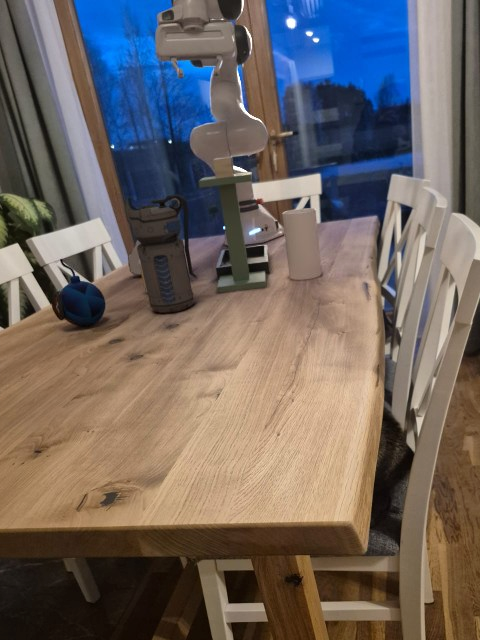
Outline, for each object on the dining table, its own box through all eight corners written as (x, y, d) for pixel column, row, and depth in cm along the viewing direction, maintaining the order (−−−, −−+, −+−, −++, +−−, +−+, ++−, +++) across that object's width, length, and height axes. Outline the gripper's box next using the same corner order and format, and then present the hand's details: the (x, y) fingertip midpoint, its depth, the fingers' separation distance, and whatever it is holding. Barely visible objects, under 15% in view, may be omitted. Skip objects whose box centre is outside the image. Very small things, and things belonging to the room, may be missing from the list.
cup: (284, 280, 147) (276, 214, 140) (297, 272, 153) (289, 209, 147) (315, 279, 143) (308, 212, 137) (326, 271, 150) (320, 207, 143)
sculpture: (145, 283, 186) (177, 264, 186) (138, 286, 169) (173, 265, 169) (125, 252, 183) (158, 233, 183) (116, 252, 166) (152, 231, 166)
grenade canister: (205, 309, 130) (183, 192, 119) (146, 317, 129) (119, 200, 118) (205, 297, 139) (185, 188, 129) (150, 306, 138) (125, 196, 128)
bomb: (54, 328, 130) (34, 261, 123) (101, 315, 135) (84, 250, 129) (67, 336, 122) (46, 266, 116) (116, 322, 128) (99, 254, 122)
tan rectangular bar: (222, 172, 152) (219, 156, 150) (237, 170, 152) (234, 154, 150) (215, 178, 132) (212, 159, 130) (233, 176, 132) (230, 157, 130)
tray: (223, 260, 179) (221, 250, 177) (268, 255, 179) (267, 244, 177) (217, 280, 155) (215, 268, 154) (269, 273, 155) (267, 261, 154)
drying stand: (220, 281, 153) (203, 177, 142) (265, 276, 153) (251, 171, 142) (217, 293, 142) (198, 181, 131) (266, 287, 142) (250, 174, 131)
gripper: (232, 23, 153) (238, 79, 155) (153, 27, 151) (160, 83, 153) (232, 11, 147) (239, 69, 149) (150, 14, 144) (158, 73, 146)
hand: (198, 76), depth 151 cm, fingers open, 8 cm apart
